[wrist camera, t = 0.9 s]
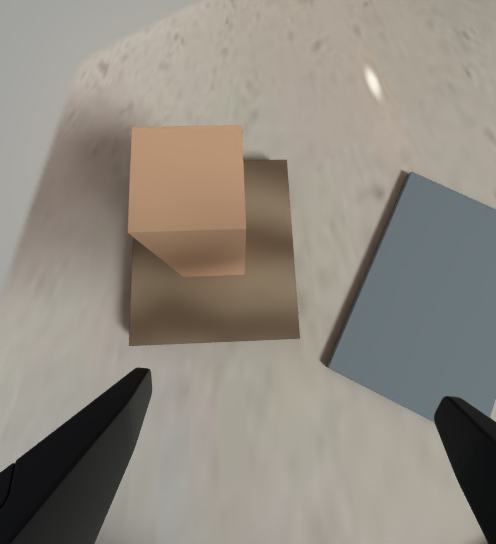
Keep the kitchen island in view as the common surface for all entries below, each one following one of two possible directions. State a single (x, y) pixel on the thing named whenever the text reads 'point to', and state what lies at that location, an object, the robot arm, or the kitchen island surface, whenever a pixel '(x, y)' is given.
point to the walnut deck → (225, 279)
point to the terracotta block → (189, 197)
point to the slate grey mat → (427, 304)
